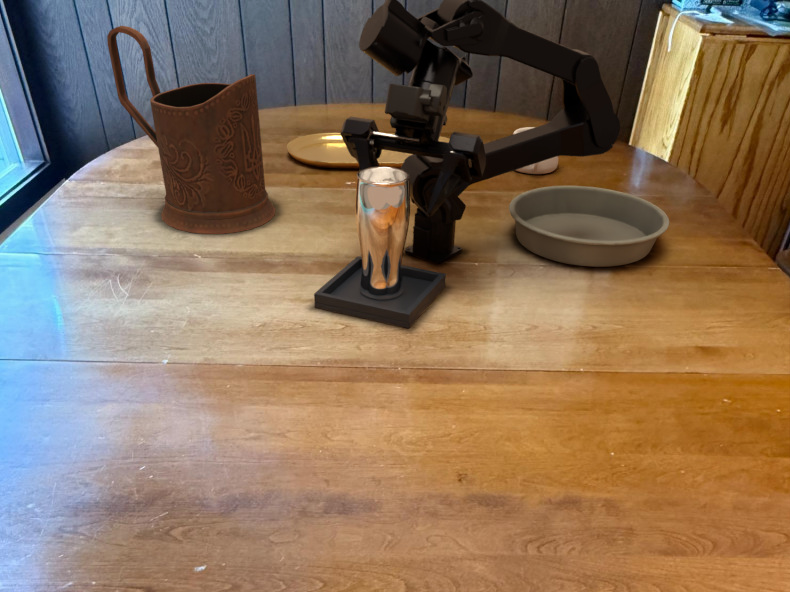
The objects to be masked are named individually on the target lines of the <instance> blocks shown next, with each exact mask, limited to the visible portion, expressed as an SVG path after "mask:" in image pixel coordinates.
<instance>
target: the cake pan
mask: <svg viewBox="0 0 790 592" xmlns="http://www.w3.org/2000/svg"><path fill="white" fill-rule="evenodd" d="M508 210H509V211H508V212H509V214H510V215H511V217H512V218H513V219H514V225H515V235H516V239H517V240H518V242H519V243H520V244H521V246H522V247H524V248H525V249H526V250H527V251H530V252H531V253H533V254H535V255H536V256H537V255H538V256H539V257H542V258H545V259H547V260H551V261H555V262H558V263H562V264H566V265H567V264H568V265H573V266H580V267H593V268H596V267H597V268H604V267H607V268H608V267H609V268H610V267H619V266H623V265H628V264H629V265H630V264H632V263H635V262H638V261H640V260H642V259H644V258H645V257H646V256H648V254H649V253H650V252H651V250H652V249H653V246H654V244H655V243H656V241H657V239H658V237H661V236H662V235H663V234H665V233H666V231H668V229H669V226H670V219H669V216H668V215H667V214H666V212H665V211H664V210H663V209H661V207H659V206H657V205H656V204H654V203H652V202H650V201H649V200H647V199H644V198H641V197H639V196H636V195H633V194H630V193H627V192H622V191H618V190H614V189H609V188H603V187H597V186H596V187H595V186H588V185H587V186H585V185H552V186H543V187H538V188H533V189H529V190H527V191H524V192H522V193H520V194H518V195H516V196H515V197H514V198H513V199H512V200H511V201H510V203H509V205H508Z"/></svg>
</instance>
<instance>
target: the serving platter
mask: <svg viewBox="0 0 790 592" xmlns="http://www.w3.org/2000/svg"><path fill="white" fill-rule="evenodd" d="M340 133H341V132H320V133H311V134H307V135H303V136H299V137H297V138H293V139H292V140H291V141H289V142H288V143H287V146H286V150H287V152H288V154H289V155H290V156H291V157H292V158H293V159H294V160H295V161H298V162H300V163H302V164H304V165H308V166H313V167H317V168H323V169H324V168H325V169H360V168H359V163H358V162H357V160H356V159H355V158H354V157H352V156H351V155H350V153H349V151H348V149H347V147H346V145H345V143H344V141H343V139H342V137H341V135H340ZM393 134H394V135H395V133H393ZM449 140H450V137H449V138H448V137H446V136H441V135H440V137H439V141H441V142H447V143H449ZM411 155H413V154H408V153H402V152H396V151H389V150H383V149H382V152H381V155H380V157H379V158H378V159H377V161H378V163H379V167H393V168H398V169H401V167H402V165H403V163H404V160H405V159H406V158H407V157H409V156H411Z"/></svg>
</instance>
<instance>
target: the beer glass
mask: <svg viewBox="0 0 790 592" xmlns="http://www.w3.org/2000/svg"><path fill="white" fill-rule="evenodd" d="M409 177H410V176H409V174H408V173H407V172H406V171H404V170H401V169H398V168H393V167H370V168H365V169H362V170H360V169H359V171H358V172H357V173H356V185H355V199H354V200H355V203H354V204H355V205H354V207H355V209H354V211H355V223H356V231H357V237H358V243H359V248H360V254H361V257H362V275H361V281H360V288H359V289H360V292H361V293H362V294H363V295H364V296H366V297H369V298H372V299H378V300H387V299H393V298H396V297H399V296H400V295H401V294H402V293H403V292H404V284H403V277H402V265H403V258H404V257H403V256H404V253H405V248H406V242H407V237H408V232H409V225H410V219H411V218H410V217H411V198H410V186H409Z"/></svg>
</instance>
